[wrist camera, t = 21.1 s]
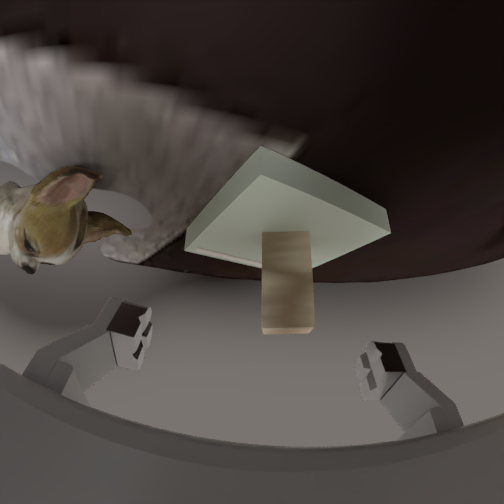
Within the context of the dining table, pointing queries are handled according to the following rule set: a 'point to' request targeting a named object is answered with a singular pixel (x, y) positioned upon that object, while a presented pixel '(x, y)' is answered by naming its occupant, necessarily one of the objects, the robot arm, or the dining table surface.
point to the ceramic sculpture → (51, 218)
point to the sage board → (283, 212)
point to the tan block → (287, 283)
